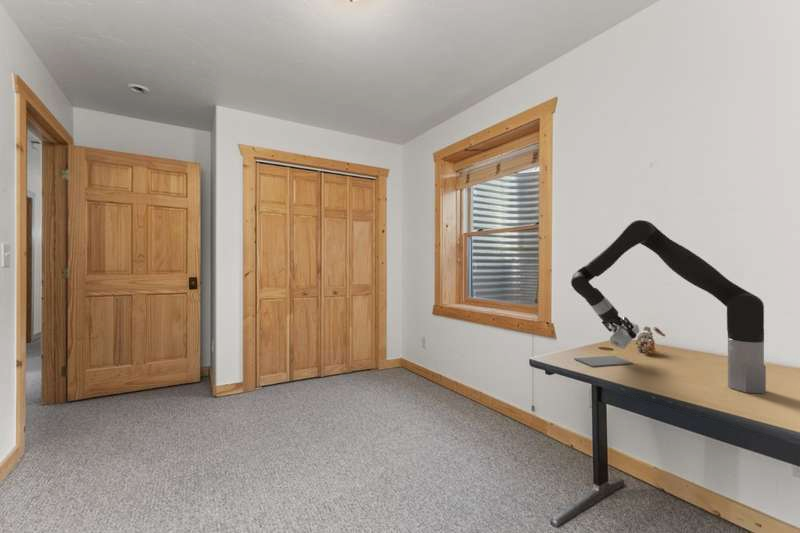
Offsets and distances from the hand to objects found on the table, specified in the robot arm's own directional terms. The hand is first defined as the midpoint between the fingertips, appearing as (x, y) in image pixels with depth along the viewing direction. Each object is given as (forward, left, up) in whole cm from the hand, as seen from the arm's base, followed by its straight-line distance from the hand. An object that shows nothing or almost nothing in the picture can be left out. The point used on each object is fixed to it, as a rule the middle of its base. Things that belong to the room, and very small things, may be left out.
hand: (628, 337), depth 166 cm
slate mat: (-3, +12, -11) cm, 16 cm away
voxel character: (+17, -16, -11) cm, 26 cm away
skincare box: (-3, +6, -2) cm, 7 cm away
